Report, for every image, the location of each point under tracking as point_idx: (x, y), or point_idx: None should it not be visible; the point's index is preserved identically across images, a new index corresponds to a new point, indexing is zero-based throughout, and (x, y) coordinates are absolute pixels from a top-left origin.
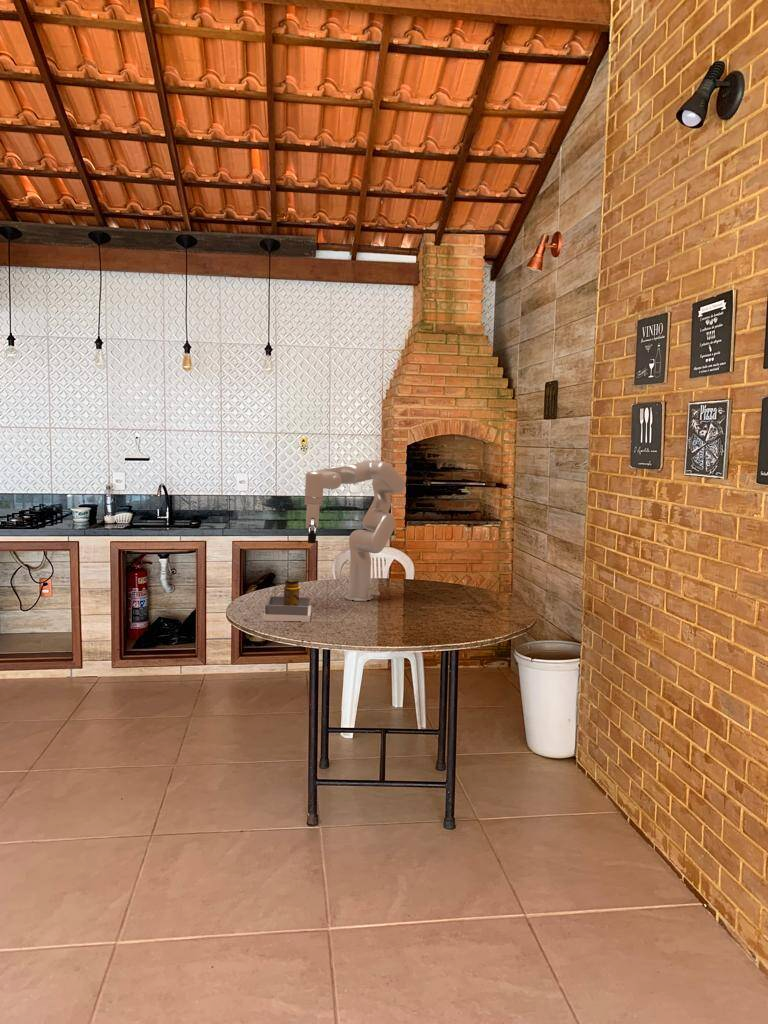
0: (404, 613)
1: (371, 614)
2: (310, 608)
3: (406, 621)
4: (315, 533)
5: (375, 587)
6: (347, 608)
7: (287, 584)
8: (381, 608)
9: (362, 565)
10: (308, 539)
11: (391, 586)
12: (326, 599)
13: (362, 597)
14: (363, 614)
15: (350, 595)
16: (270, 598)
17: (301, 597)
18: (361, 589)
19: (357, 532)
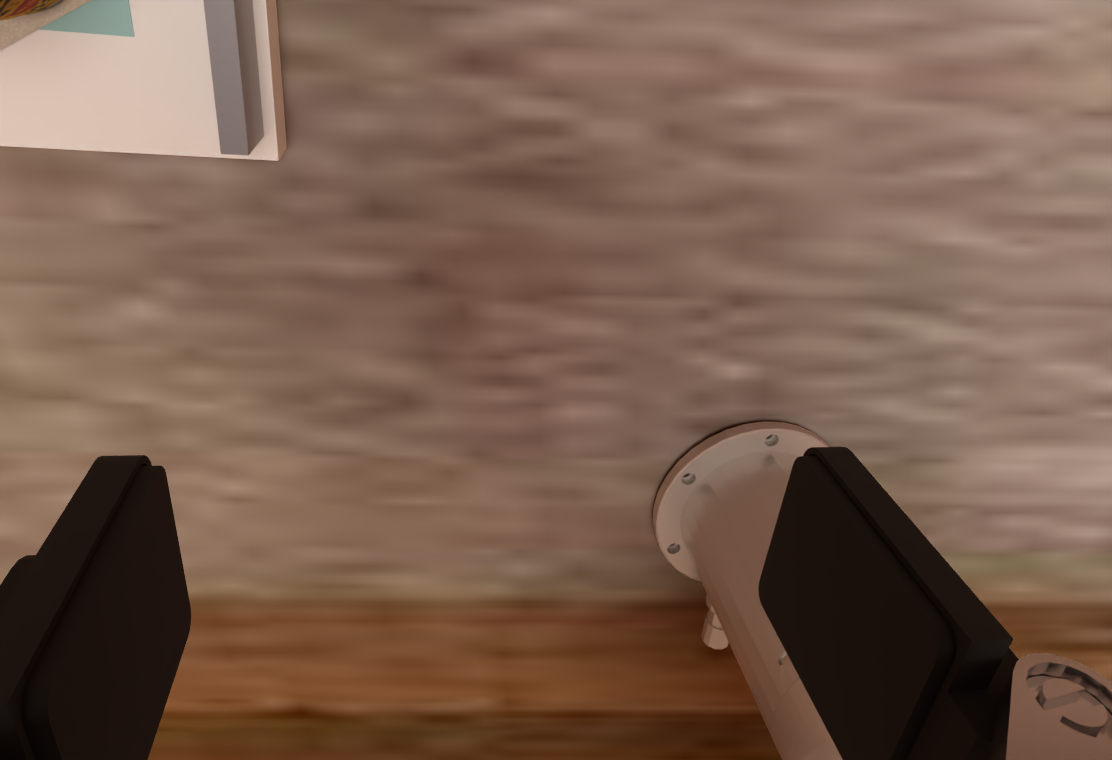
0: (353, 717)
1: (283, 565)
2: (137, 148)
3: None
4: (833, 727)
5: (1044, 589)
6: (440, 429)
7: None
8: (467, 616)
9: (776, 731)
10: (61, 533)
11: None
12: (736, 288)
13: (683, 536)
14: (271, 522)
15: (731, 468)
16: None
17: (211, 65)
18: (700, 569)
19: None
